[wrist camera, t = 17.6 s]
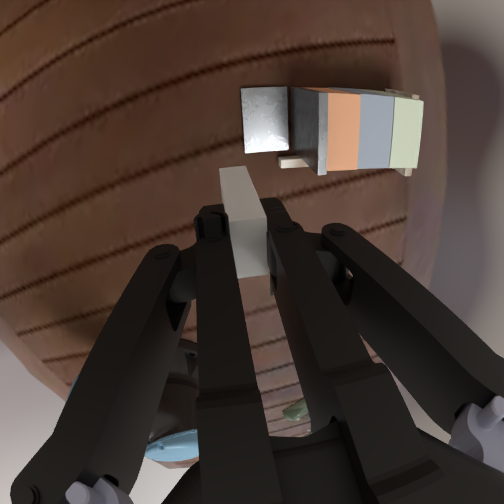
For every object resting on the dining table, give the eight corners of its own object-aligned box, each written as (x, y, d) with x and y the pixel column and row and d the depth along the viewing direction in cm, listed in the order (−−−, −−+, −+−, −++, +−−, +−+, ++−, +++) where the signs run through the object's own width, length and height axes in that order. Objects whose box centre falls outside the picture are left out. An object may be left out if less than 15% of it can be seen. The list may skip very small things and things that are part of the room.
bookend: (244, 152, 40) (257, 179, 31) (240, 88, 35) (253, 93, 26) (297, 148, 41) (326, 174, 32) (296, 86, 36) (328, 92, 26)
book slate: (326, 146, 41) (357, 168, 33) (327, 87, 36) (360, 93, 28) (354, 146, 42) (388, 167, 34) (356, 88, 37) (393, 96, 29)
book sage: (354, 146, 42) (389, 167, 34) (357, 88, 37) (394, 97, 29) (379, 146, 42) (416, 168, 34) (382, 91, 37) (423, 101, 29)
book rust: (297, 149, 41) (321, 171, 33) (296, 87, 36) (322, 92, 28) (326, 147, 42) (356, 169, 33) (327, 87, 36) (360, 94, 28)
